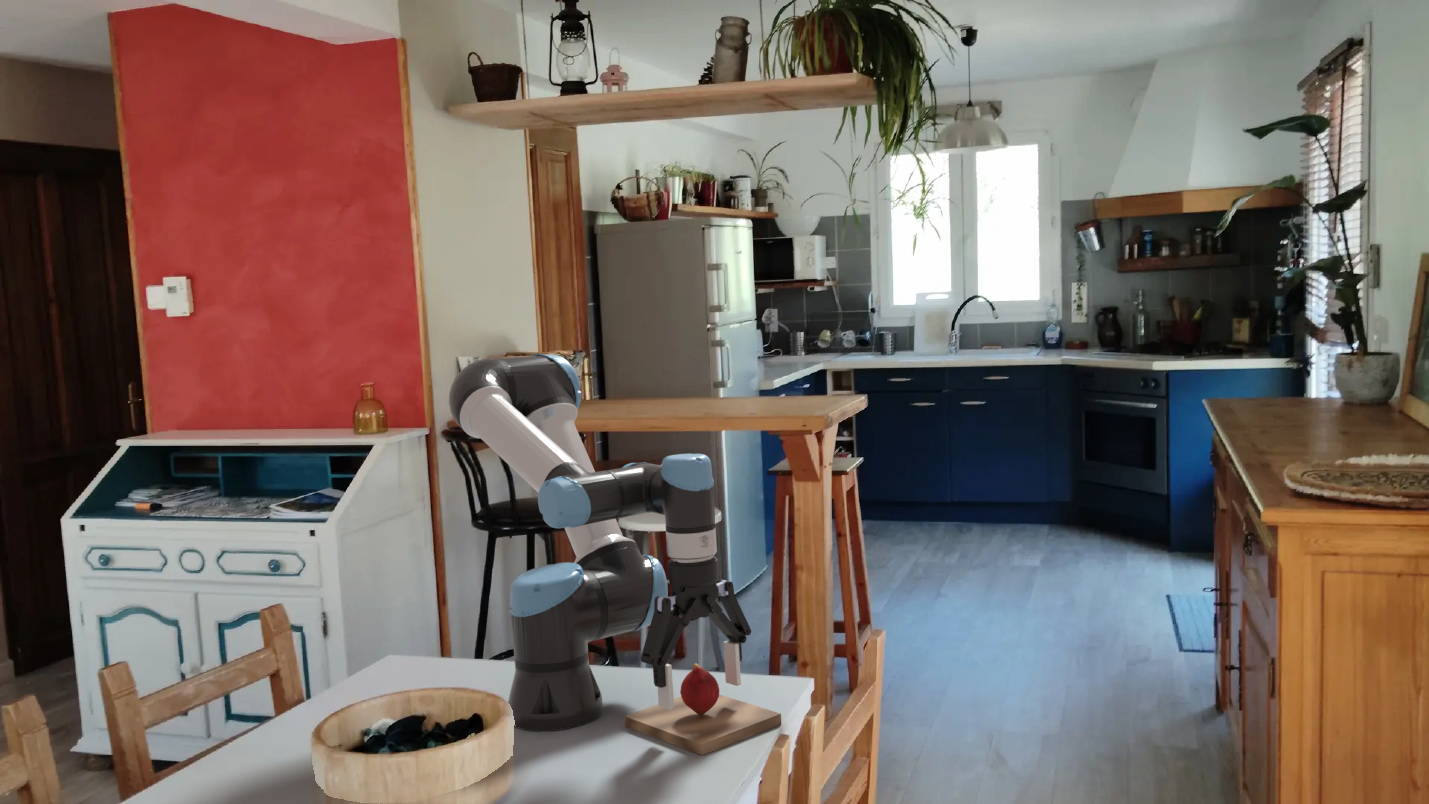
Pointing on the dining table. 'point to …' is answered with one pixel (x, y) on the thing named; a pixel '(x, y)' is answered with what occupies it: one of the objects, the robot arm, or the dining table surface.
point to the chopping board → (703, 724)
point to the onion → (699, 690)
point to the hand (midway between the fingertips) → (700, 695)
